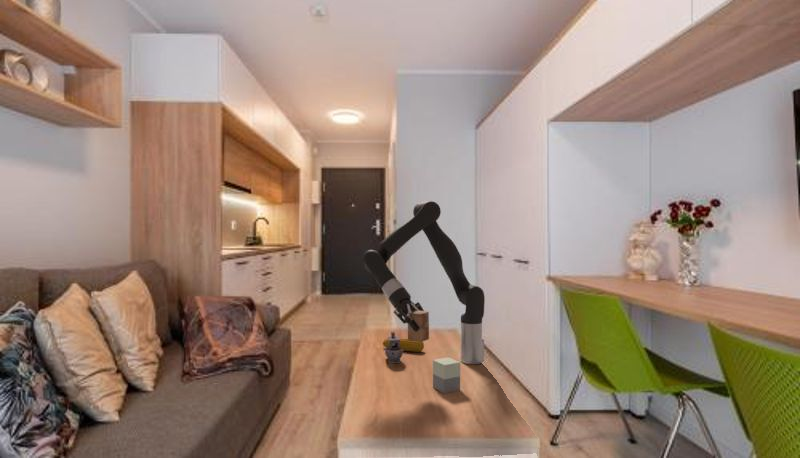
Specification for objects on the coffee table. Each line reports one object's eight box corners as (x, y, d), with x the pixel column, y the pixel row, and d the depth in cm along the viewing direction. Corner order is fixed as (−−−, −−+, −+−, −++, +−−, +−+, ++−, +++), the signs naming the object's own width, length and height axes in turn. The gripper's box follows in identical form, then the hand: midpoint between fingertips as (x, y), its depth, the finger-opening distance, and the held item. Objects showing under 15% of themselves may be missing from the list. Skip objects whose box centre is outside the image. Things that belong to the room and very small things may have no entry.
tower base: (448, 384, 159) (448, 370, 160) (460, 390, 153) (460, 376, 153) (432, 387, 156) (432, 373, 156) (443, 393, 150) (443, 379, 150)
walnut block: (416, 337, 160) (416, 310, 160) (429, 339, 157) (428, 311, 157) (408, 340, 156) (407, 312, 156) (420, 342, 153) (420, 314, 153)
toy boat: (381, 356, 194) (382, 327, 193) (398, 355, 196) (399, 327, 195) (387, 369, 180) (388, 338, 179) (405, 368, 181) (406, 337, 180)
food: (424, 351, 205) (424, 338, 205) (420, 354, 200) (420, 341, 200) (384, 346, 213) (384, 334, 213) (379, 349, 208) (379, 337, 208)
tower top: (448, 370, 160) (448, 357, 160) (460, 376, 153) (460, 362, 154) (433, 373, 156) (433, 360, 156) (444, 379, 150) (444, 365, 150)
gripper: (389, 288, 155) (417, 326, 148) (412, 284, 167) (439, 318, 159) (378, 302, 159) (405, 339, 151) (402, 297, 170) (427, 331, 163)
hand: (422, 328), depth 155 cm, fingers closed on walnut block, 5 cm apart
